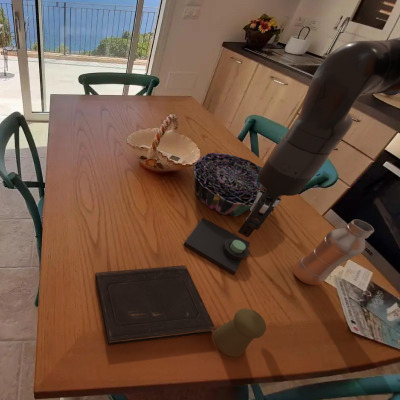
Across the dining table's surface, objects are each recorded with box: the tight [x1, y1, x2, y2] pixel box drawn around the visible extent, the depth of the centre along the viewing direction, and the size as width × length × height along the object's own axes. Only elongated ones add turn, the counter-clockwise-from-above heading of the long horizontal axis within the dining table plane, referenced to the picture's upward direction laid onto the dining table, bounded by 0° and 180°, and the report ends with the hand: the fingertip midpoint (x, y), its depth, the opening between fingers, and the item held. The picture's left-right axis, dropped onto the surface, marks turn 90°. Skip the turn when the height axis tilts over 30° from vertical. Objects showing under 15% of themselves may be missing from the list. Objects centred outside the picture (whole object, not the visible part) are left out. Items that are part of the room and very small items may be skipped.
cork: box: [213, 308, 267, 358], centre depth 53 cm, size 6×6×11 cm
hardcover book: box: [94, 265, 217, 346], centre depth 61 cm, size 16×23×2 cm
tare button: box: [230, 240, 246, 253], centre depth 71 cm, size 3×3×2 cm
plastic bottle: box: [292, 218, 375, 286], centre depth 63 cm, size 6×7×20 cm
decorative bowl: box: [192, 152, 263, 217], centre depth 89 cm, size 26×28×10 cm
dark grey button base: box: [182, 217, 251, 276], centre depth 75 cm, size 15×13×3 cm
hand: (248, 223), depth 60 cm, fingers open, 8 cm apart
